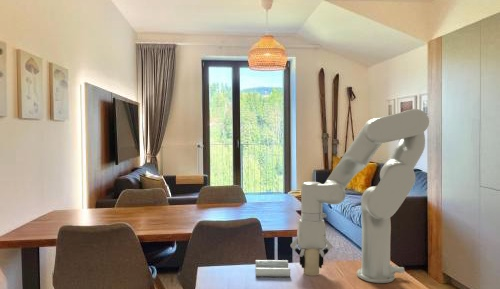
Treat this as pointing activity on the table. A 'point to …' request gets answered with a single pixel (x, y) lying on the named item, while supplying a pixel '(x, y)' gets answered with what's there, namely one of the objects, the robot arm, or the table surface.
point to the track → (272, 269)
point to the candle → (311, 262)
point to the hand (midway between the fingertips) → (311, 266)
